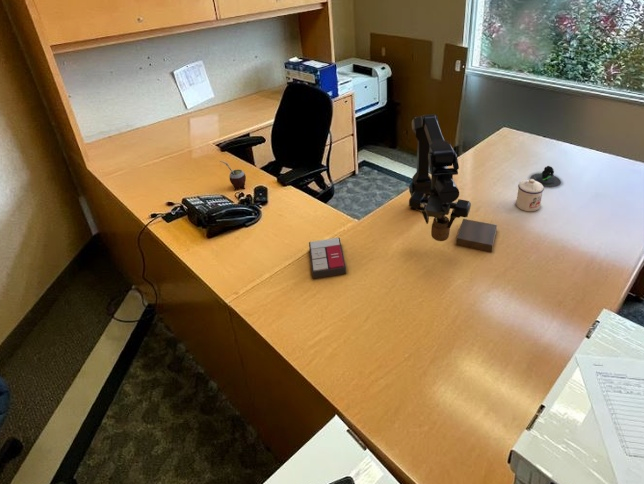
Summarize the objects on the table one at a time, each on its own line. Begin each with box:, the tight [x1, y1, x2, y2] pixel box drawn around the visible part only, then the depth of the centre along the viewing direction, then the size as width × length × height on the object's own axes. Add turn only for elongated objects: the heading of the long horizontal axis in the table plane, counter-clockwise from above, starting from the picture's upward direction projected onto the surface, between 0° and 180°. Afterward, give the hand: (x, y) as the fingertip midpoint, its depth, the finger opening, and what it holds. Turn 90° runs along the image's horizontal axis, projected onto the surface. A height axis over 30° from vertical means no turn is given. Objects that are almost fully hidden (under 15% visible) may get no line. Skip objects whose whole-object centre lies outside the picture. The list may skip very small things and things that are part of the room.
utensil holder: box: [430, 215, 451, 242], centre depth 135 cm, size 6×6×12 cm
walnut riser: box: [455, 218, 498, 253], centre depth 146 cm, size 12×12×3 cm
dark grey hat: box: [529, 165, 562, 188], centre depth 175 cm, size 12×12×12 cm
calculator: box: [308, 237, 347, 280], centre depth 140 cm, size 11×4×15 cm
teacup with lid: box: [515, 178, 545, 212], centre depth 160 cm, size 12×9×12 cm
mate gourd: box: [219, 160, 247, 191], centre depth 185 cm, size 8×8×15 cm
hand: (438, 225), depth 136 cm, fingers closed on utensil holder, 7 cm apart
